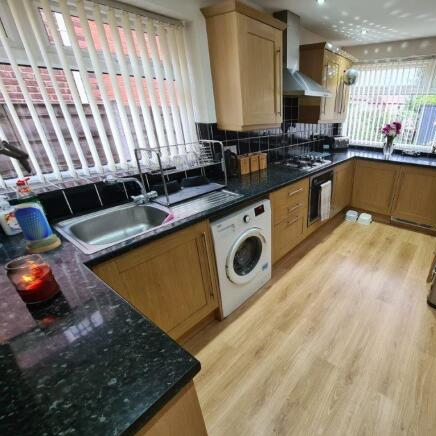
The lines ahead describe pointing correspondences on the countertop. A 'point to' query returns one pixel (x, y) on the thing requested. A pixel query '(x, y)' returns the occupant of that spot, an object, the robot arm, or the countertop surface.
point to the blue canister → (32, 222)
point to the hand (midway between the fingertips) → (8, 175)
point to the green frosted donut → (43, 245)
